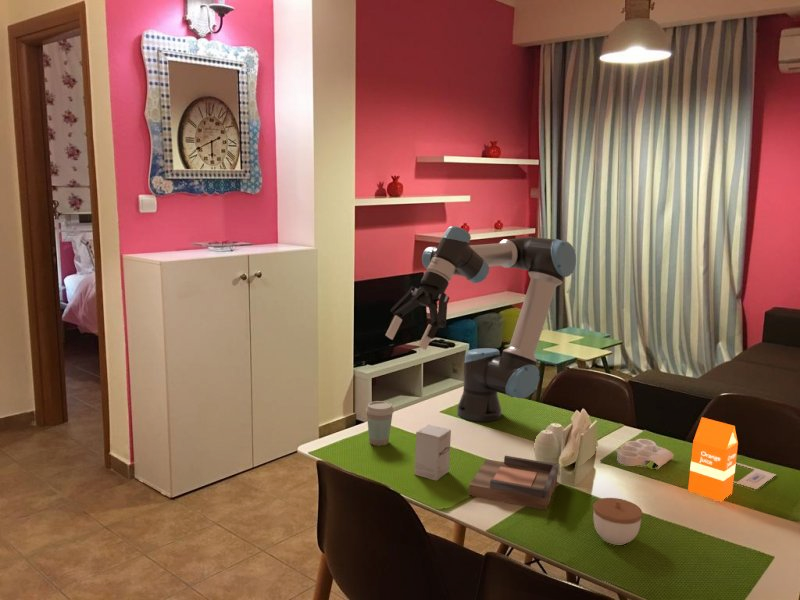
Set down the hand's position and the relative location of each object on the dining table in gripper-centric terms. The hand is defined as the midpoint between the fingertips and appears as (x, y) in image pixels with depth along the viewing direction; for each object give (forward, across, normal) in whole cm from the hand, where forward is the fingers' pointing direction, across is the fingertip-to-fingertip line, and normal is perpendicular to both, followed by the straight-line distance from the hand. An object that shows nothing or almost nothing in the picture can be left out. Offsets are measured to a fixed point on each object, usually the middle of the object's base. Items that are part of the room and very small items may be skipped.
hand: (405, 342), depth 198 cm
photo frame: (-9, +66, +77) cm, 102 cm away
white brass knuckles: (-3, +44, +67) cm, 80 cm away
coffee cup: (+27, -14, +23) cm, 39 cm away
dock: (+23, +32, +29) cm, 49 cm away
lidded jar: (+24, +64, +26) cm, 73 cm away
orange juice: (+1, +68, +61) cm, 91 cm away
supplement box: (+29, +12, +20) cm, 37 cm away
